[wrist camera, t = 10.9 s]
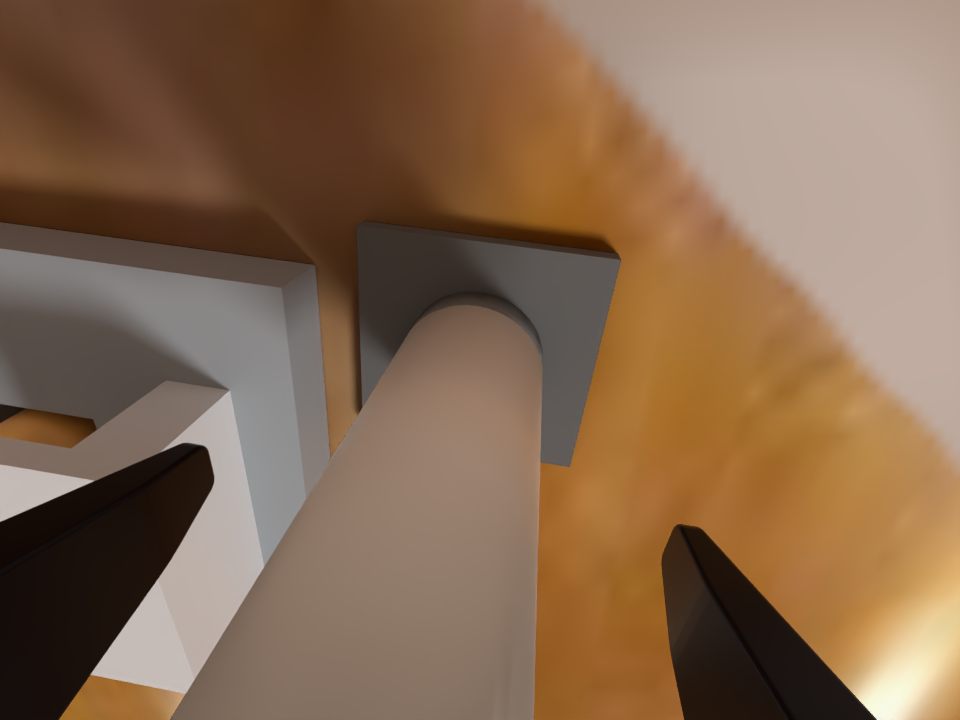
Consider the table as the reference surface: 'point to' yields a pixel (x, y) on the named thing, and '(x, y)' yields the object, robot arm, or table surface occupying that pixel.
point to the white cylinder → (406, 546)
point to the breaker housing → (166, 409)
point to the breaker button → (47, 428)
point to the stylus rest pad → (501, 272)
